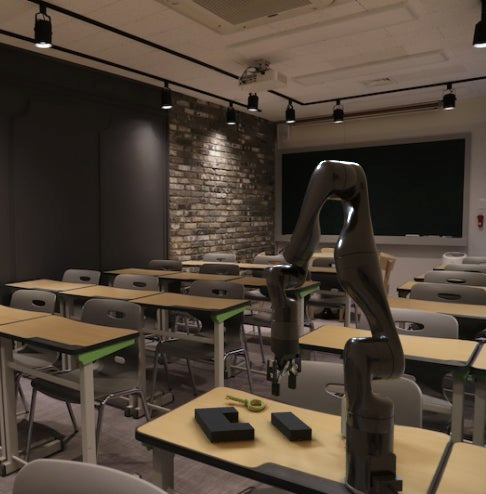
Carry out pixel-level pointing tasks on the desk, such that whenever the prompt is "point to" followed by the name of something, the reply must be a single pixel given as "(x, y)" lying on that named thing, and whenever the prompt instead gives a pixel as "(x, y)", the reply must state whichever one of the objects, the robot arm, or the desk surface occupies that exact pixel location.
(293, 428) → the strip pad
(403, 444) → the desk surface
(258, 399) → the key
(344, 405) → the photo printer
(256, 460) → the desk surface
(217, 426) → the base pad
